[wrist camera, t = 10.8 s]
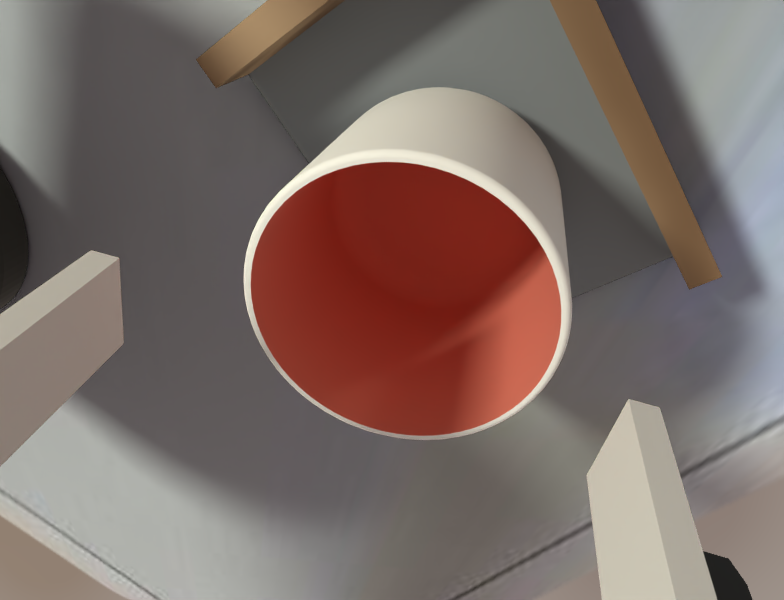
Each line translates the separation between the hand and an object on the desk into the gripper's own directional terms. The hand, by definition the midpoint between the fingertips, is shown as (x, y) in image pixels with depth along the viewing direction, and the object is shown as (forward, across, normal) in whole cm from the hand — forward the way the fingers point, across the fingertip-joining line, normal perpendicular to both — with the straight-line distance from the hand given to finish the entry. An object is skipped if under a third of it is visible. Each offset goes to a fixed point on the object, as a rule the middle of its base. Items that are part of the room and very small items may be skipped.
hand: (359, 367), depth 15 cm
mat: (+14, +1, +2) cm, 14 cm away
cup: (+13, +1, 0) cm, 13 cm away
